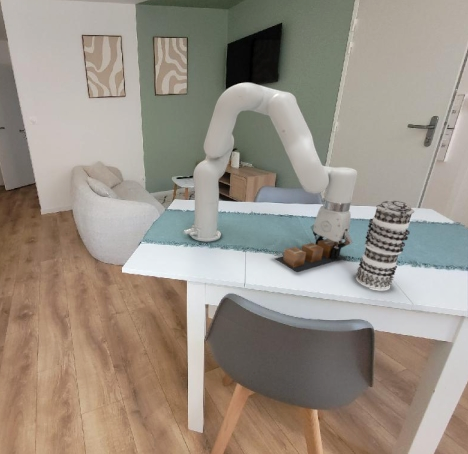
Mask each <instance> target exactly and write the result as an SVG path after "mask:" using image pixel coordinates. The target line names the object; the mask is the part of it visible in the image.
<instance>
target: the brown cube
mask: <svg viewBox="0 0 468 454" xmlns="http://www.w3.org/2000/svg"><path fill="white" fill-rule="evenodd" d="M300 250H302V251H304V252H306V256H305V260H307V261H309V262H311V263H312V262H315V261H319V260H321V258H322V253H323V248H322V247H320V246H318V245H316V244H315V243H314V242H310V243H305V244H302V245H301V249H300Z"/></svg>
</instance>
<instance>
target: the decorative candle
mask: <svg viewBox="0 0 468 454" xmlns="http://www.w3.org/2000/svg"><path fill="white" fill-rule="evenodd" d="M375 208H376V209H375V213H374V216H373V217H372V218H370V219H369V221H368V222H369V223H368V225H367V227H368V229H367V231H366V236H365V239H366V240H365V242H364V246H365V250H364V252H363V254H362V257H361V258H360V259H359V261H360V262H359V264H358V268H357V272H356V273H355V276H356V277H355V279H356V281H357V282H358V283H359V284H361V285H362V286H364V287H366V288H369V289H370V290H373V291H379V292H384V291H388V290H390V288H391V286H392V284H393V280H394V278H395V276H394V275H395V273H396V271H397V268H398V266H397V262H398V257H399V255H400V254H402V252H404V247H405V245H406V243H405V242H404V241H407V240H408V239H409V237H408V235H410V231H409V227H410V223H411V218H412V214H414V213H415V210H414V209H412V207H411V205H410V204H409V203H406V202H404V201H399V200H385V201H382V202H381V203H379V204H377V205H376V206H375Z"/></svg>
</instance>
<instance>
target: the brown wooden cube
mask: <svg viewBox="0 0 468 454" xmlns="http://www.w3.org/2000/svg"><path fill="white" fill-rule="evenodd" d="M283 256H284V258H283V262H285V263H286V264H288V265H290V266H291V267H293V268H294V267H297V266H301V265H304V261H305V256H306V252H304V251H302V250H301V249H300V248H298V247H297V246H294V247H289V248H286V249H284V252H283Z"/></svg>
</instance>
